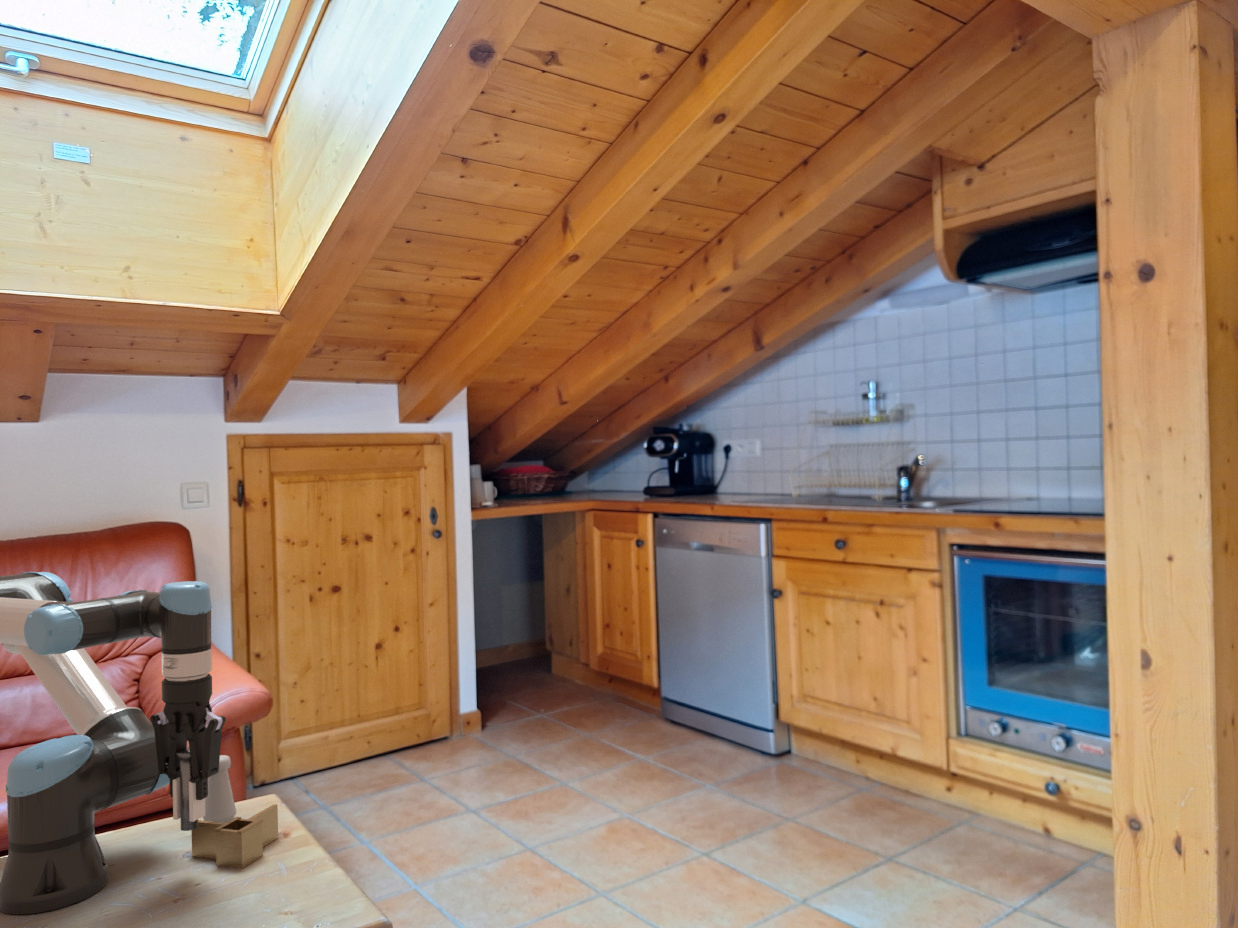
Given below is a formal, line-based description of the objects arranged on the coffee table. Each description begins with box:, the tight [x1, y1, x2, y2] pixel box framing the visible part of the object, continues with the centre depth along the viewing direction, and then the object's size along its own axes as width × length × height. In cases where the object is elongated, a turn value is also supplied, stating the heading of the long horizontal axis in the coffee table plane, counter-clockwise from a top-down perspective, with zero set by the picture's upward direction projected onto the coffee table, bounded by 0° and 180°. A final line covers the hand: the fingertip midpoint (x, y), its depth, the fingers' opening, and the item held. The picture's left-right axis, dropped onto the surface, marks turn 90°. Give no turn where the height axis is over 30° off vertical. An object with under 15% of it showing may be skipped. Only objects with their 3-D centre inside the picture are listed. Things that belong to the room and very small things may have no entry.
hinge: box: [190, 803, 279, 869], centre depth 156 cm, size 12×12×6 cm
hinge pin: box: [176, 746, 199, 832], centre depth 147 cm, size 4×4×13 cm
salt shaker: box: [202, 754, 237, 823], centre depth 167 cm, size 6×6×13 cm
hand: (189, 816), depth 147 cm, fingers closed on hinge pin, 2 cm apart
